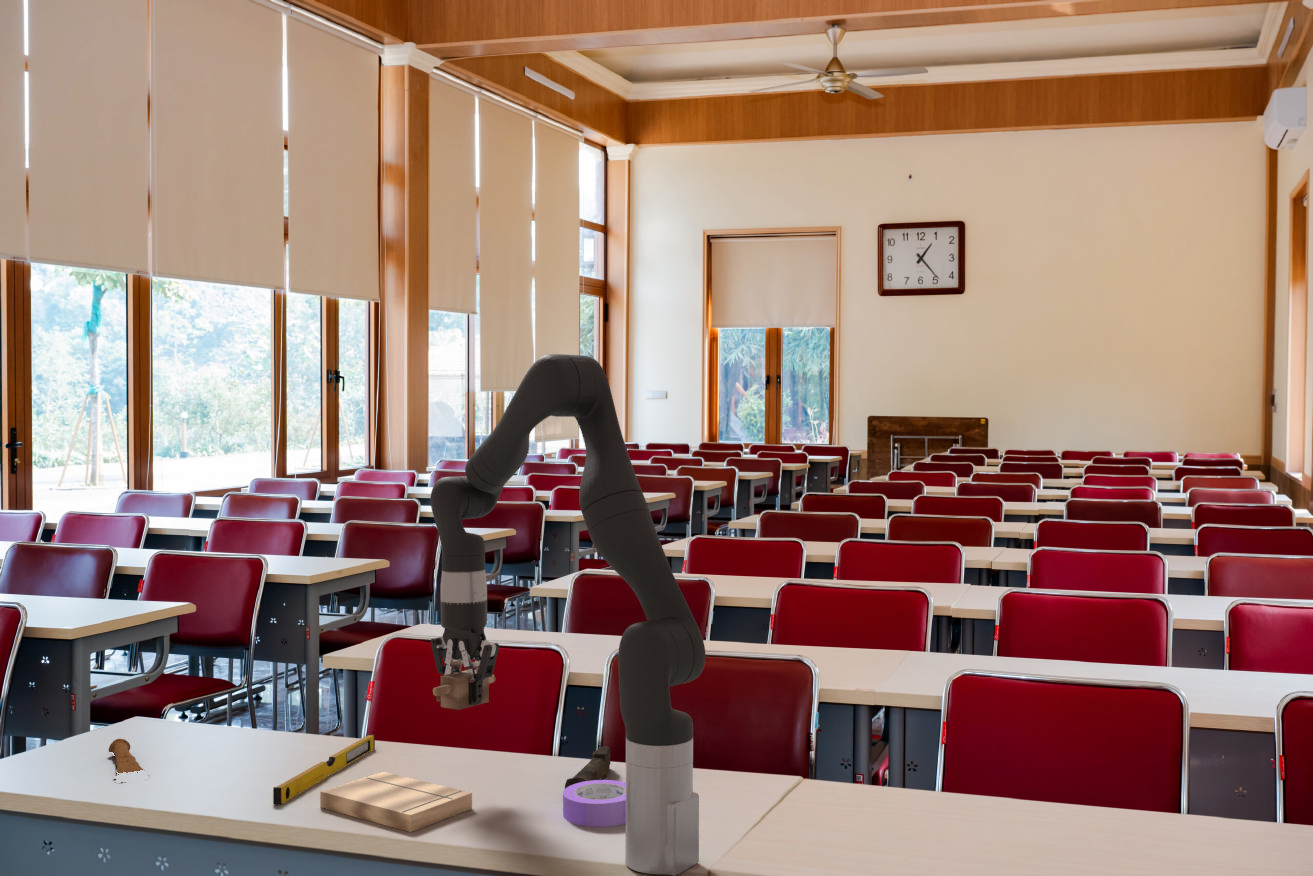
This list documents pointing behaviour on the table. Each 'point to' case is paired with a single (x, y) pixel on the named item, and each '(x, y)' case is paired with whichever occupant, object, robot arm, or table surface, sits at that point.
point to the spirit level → (322, 770)
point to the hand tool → (593, 767)
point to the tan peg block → (459, 690)
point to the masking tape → (595, 803)
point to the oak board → (396, 801)
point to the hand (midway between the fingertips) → (464, 702)
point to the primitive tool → (124, 756)
